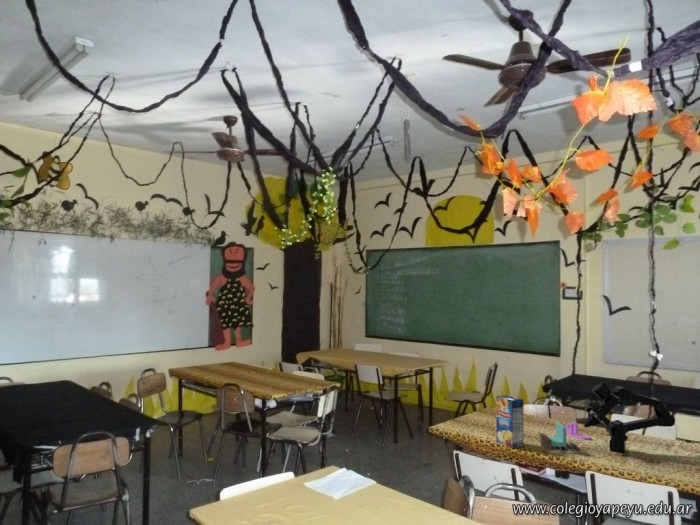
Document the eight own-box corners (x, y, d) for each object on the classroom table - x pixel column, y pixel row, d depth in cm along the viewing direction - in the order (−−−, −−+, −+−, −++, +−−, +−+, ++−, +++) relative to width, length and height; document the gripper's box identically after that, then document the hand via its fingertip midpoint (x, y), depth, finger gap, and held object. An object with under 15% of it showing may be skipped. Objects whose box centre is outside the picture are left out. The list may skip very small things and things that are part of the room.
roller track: (573, 445, 265) (573, 434, 265) (583, 453, 252) (583, 441, 252) (538, 444, 266) (538, 432, 266) (546, 452, 253) (546, 439, 253)
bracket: (565, 435, 286) (565, 422, 286) (571, 433, 289) (571, 421, 289) (587, 441, 275) (586, 427, 275) (593, 439, 278) (593, 426, 278)
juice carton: (496, 442, 269) (496, 396, 271) (507, 440, 272) (507, 395, 274) (512, 448, 258) (512, 400, 260) (523, 446, 262) (523, 399, 263)
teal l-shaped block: (558, 440, 264) (558, 422, 265) (566, 446, 253) (566, 427, 254) (544, 440, 265) (544, 421, 265) (552, 446, 254) (551, 427, 254)
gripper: (588, 390, 269) (566, 410, 269) (603, 397, 250) (580, 419, 250) (603, 406, 268) (581, 426, 268) (620, 414, 249) (596, 436, 249)
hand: (584, 426), depth 259 cm, fingers closed
